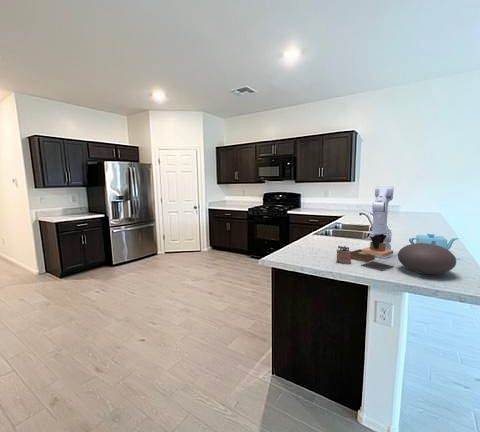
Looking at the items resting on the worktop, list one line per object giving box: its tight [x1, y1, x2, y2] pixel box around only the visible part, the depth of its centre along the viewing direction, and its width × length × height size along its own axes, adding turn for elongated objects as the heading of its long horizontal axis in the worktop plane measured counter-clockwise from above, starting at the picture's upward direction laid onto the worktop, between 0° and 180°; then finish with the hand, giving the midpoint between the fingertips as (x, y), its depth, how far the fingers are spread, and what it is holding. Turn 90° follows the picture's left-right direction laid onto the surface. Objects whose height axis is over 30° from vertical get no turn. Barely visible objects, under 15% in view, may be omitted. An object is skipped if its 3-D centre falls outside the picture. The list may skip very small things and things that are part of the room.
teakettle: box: [408, 233, 460, 251], centre depth 162 cm, size 19×19×15 cm
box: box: [350, 248, 376, 263], centre depth 162 cm, size 10×10×4 cm
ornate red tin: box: [335, 245, 352, 265], centre depth 154 cm, size 8×3×10 cm, turn 59°
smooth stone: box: [397, 242, 457, 275], centre depth 136 cm, size 25×25×15 cm
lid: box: [361, 241, 394, 258], centre depth 147 cm, size 12×12×6 cm
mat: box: [360, 260, 394, 272], centre depth 148 cm, size 12×12×1 cm
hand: (377, 248), depth 147 cm, fingers closed on lid, 3 cm apart
